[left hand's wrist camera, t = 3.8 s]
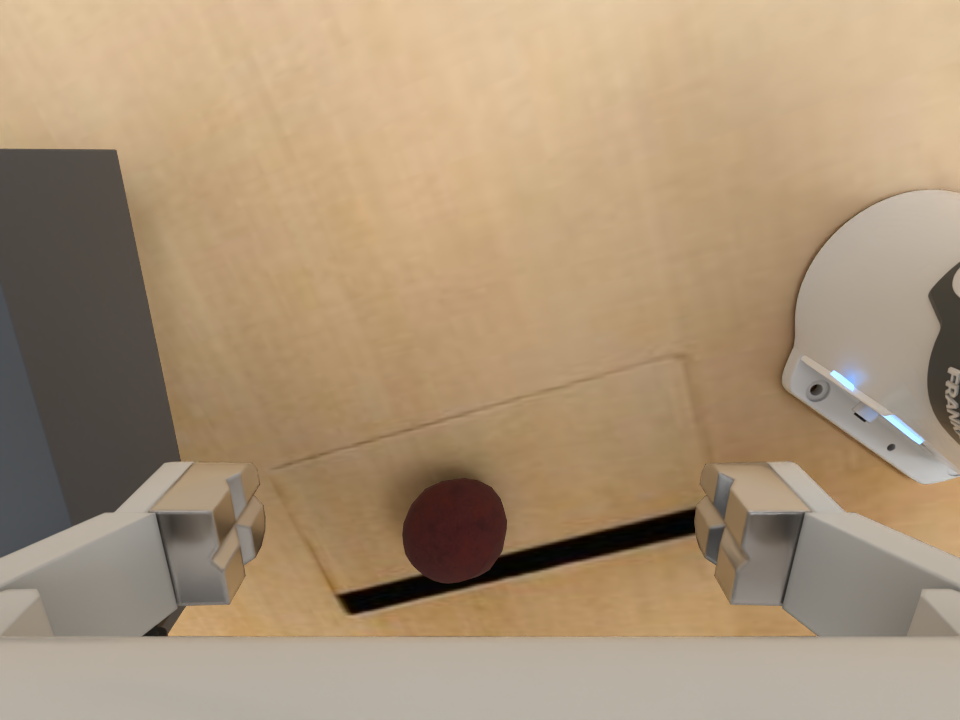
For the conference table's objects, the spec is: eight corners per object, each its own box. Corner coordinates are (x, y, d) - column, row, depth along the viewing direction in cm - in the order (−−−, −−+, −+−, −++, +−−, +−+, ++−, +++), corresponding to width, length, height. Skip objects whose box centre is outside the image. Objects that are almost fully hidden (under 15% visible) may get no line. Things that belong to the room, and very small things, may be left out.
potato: (390, 503, 44) (374, 566, 38) (457, 440, 42) (453, 494, 36) (458, 556, 46) (455, 625, 40) (526, 498, 44) (535, 559, 38)
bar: (22, 149, 29) (-176, 148, 20) (116, 149, 29) (-40, 148, 20) (133, 576, 38) (31, 701, 29) (205, 576, 38) (124, 701, 29)
